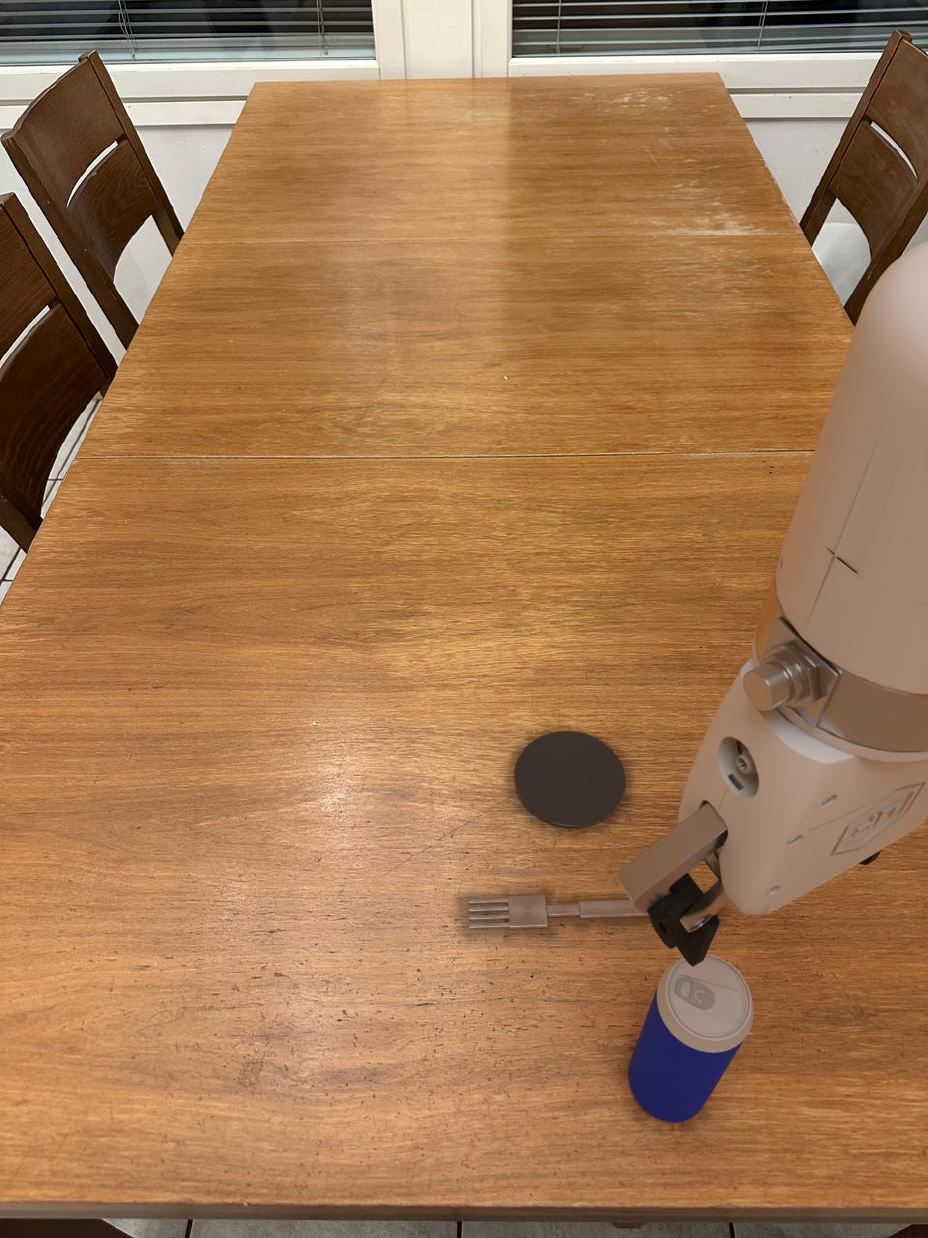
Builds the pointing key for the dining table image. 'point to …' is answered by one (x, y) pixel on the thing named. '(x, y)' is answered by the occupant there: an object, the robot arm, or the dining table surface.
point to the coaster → (569, 779)
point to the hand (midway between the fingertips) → (762, 884)
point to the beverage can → (689, 1037)
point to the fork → (546, 911)
